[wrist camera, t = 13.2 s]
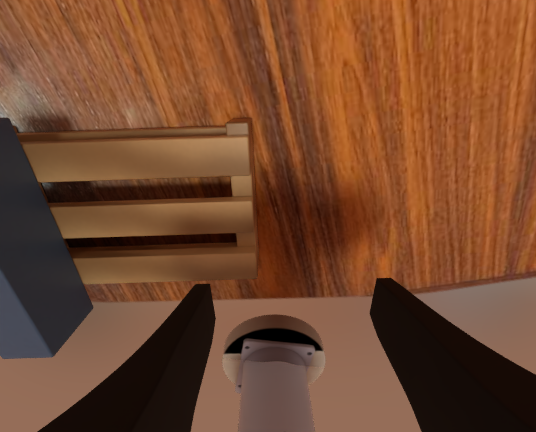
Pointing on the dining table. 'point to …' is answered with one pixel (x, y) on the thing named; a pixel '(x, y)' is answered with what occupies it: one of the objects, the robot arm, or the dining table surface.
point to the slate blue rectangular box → (33, 263)
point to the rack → (154, 200)
